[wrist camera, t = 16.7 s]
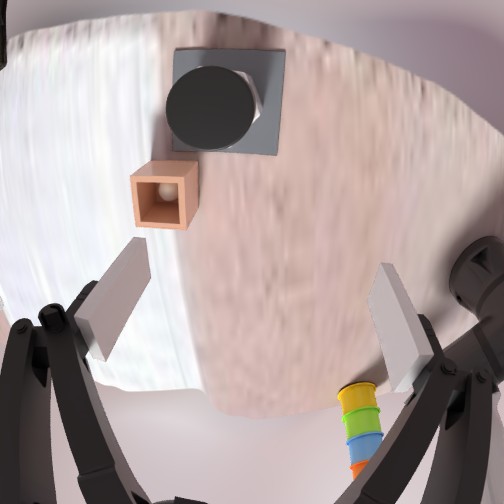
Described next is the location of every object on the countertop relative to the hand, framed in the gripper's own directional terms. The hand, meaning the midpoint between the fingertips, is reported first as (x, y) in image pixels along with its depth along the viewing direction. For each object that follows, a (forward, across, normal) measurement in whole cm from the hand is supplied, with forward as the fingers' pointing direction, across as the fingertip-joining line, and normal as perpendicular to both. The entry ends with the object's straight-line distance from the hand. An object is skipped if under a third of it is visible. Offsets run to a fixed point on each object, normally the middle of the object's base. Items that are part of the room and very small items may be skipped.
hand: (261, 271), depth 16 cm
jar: (+25, +6, -7) cm, 27 cm away
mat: (+25, +6, -8) cm, 27 cm away
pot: (+25, +13, +5) cm, 29 cm away
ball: (+23, +13, +5) cm, 27 cm away
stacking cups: (+27, -28, +54) cm, 67 cm away
